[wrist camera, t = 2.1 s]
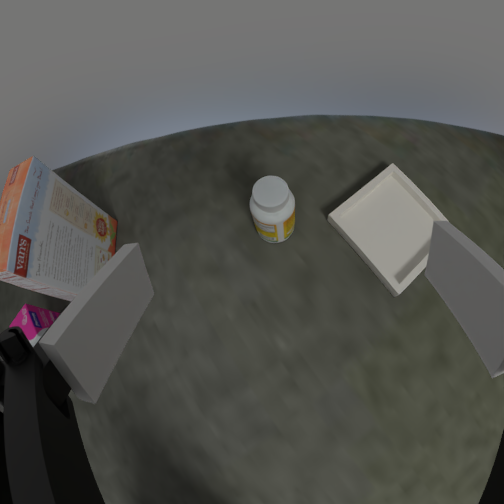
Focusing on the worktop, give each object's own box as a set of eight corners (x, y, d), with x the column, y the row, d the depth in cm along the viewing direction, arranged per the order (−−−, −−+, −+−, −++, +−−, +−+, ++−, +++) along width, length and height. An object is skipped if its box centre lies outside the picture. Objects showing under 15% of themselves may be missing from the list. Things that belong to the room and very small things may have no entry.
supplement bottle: (262, 249, 39) (252, 219, 30) (251, 215, 40) (239, 178, 31) (300, 236, 38) (302, 204, 29) (287, 203, 40) (285, 164, 31)
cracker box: (92, 227, 44) (8, 167, 24) (119, 221, 44) (35, 151, 24) (86, 307, 40) (-18, 274, 20) (114, 305, 39) (6, 269, 19)
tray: (389, 170, 40) (392, 163, 38) (450, 235, 35) (456, 230, 33) (327, 220, 39) (328, 214, 37) (393, 297, 34) (399, 294, 32)
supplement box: (89, 342, 38) (37, 337, 27) (70, 362, 37) (19, 360, 26) (74, 314, 40) (24, 302, 29) (56, 335, 39) (7, 327, 28)
